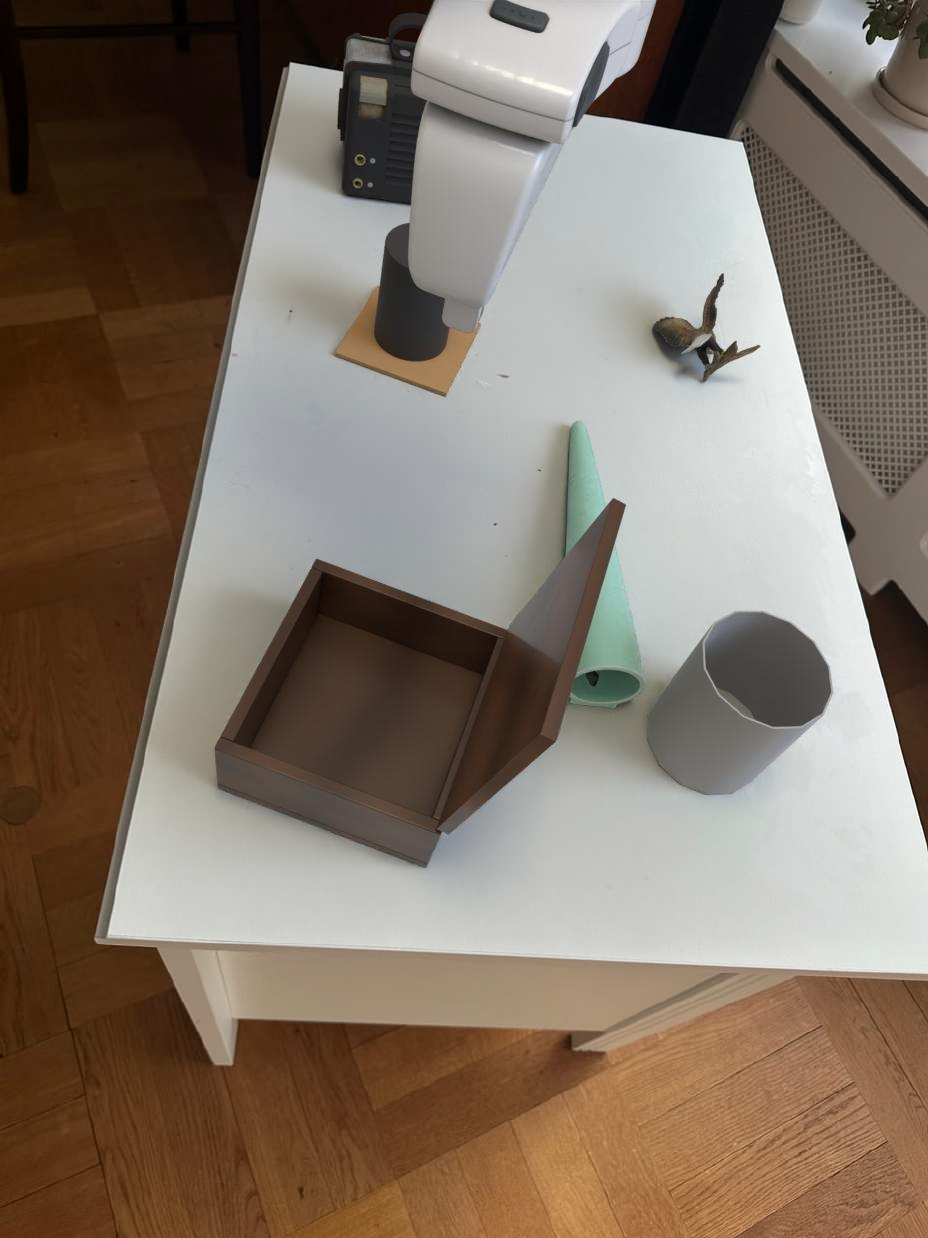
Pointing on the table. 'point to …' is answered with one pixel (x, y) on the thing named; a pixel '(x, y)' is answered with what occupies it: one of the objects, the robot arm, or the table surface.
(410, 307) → the dark grey cylinder
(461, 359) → the cork mat
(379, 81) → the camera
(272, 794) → the chest
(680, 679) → the cup
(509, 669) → the chest lid
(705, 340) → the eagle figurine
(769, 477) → the table surface
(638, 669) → the mint green cone
